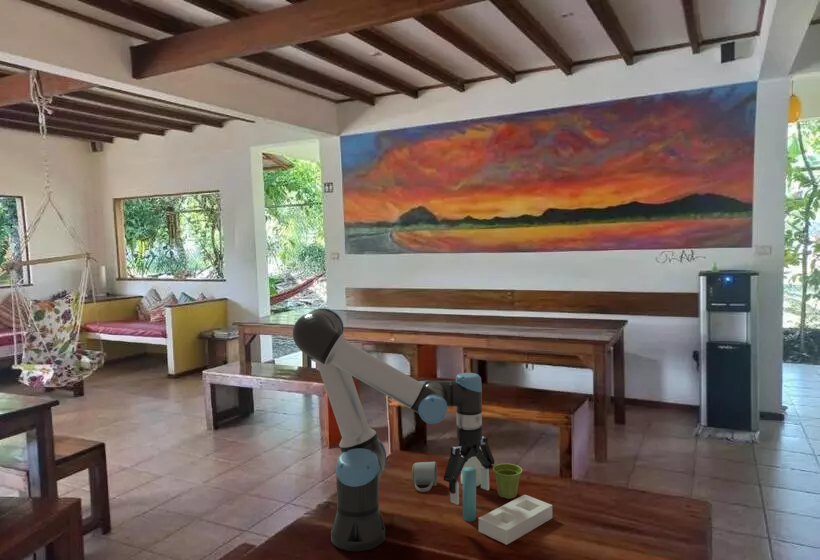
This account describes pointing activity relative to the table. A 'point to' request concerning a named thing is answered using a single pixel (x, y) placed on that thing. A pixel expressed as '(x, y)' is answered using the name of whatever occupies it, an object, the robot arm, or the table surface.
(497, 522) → the hole block
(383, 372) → the robot arm
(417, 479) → the ceramic mug
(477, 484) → the water bottle
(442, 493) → the table surface
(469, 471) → the teal pin
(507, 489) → the plant pot
